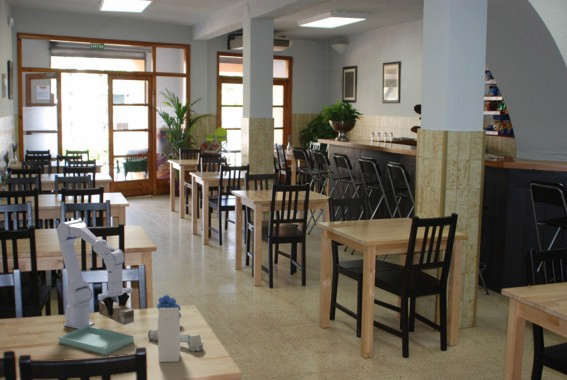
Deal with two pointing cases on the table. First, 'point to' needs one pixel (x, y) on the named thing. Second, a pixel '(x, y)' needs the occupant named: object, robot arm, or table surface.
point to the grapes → (167, 303)
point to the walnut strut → (118, 313)
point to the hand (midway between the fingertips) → (116, 313)
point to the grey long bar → (182, 339)
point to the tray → (96, 340)
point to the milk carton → (169, 334)
